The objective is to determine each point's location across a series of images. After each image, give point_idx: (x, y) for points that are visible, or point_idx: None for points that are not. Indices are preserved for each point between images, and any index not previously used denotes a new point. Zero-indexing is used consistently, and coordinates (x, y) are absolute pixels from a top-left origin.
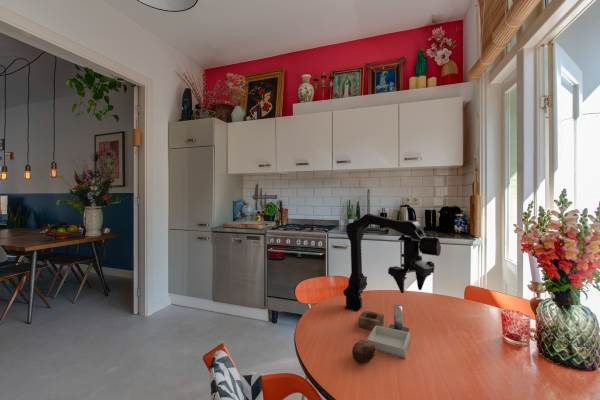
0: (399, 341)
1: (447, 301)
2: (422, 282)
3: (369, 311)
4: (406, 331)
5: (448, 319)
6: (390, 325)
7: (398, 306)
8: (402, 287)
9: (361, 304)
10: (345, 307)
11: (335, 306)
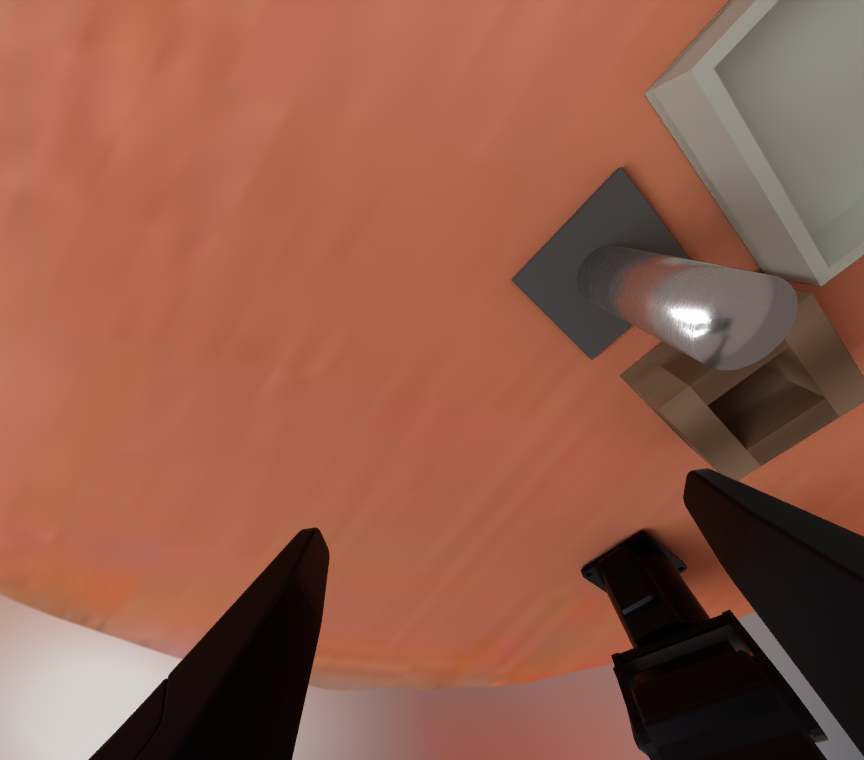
0: (755, 78)
1: (45, 554)
2: (218, 674)
3: (715, 463)
4: (570, 235)
5: (150, 349)
6: (607, 341)
7: (751, 312)
8: (861, 542)
9: (615, 572)
10: (679, 569)
11: (702, 588)
